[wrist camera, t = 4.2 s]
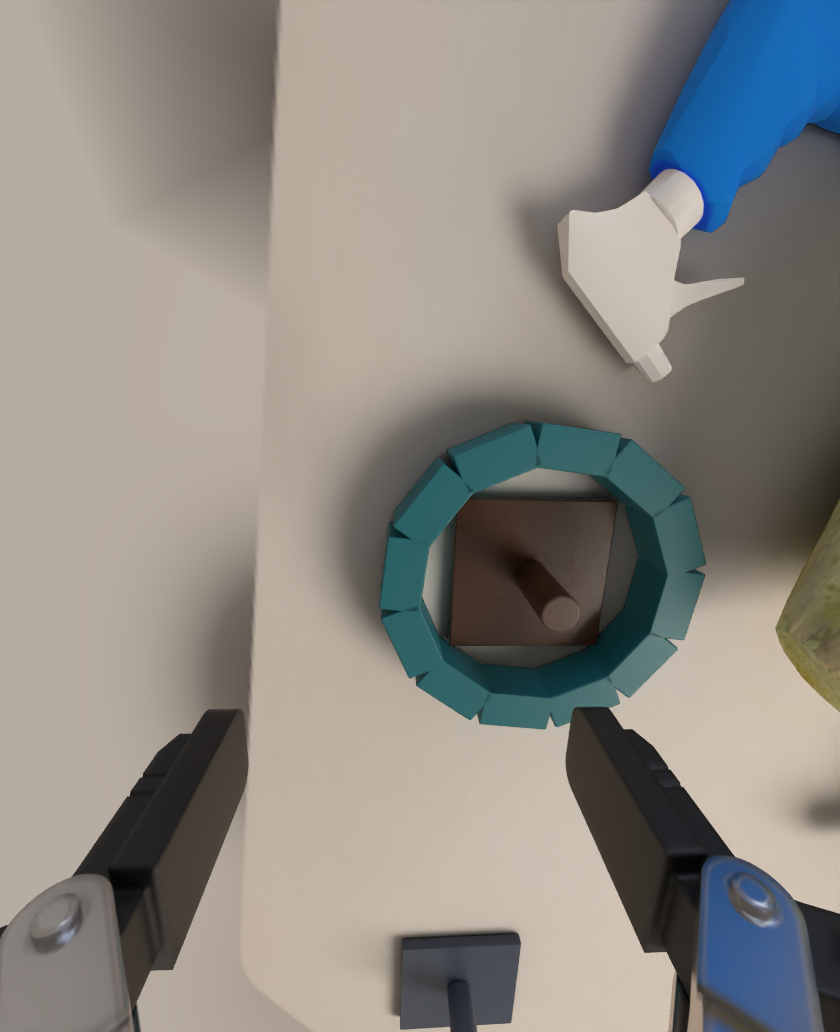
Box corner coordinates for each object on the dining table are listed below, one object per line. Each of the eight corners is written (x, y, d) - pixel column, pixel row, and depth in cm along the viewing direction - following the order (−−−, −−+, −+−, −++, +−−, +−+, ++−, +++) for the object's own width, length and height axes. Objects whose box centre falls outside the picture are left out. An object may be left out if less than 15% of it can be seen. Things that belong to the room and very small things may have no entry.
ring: (368, 683, 22) (365, 715, 20) (404, 402, 19) (405, 402, 17) (627, 705, 24) (652, 738, 21) (706, 447, 20) (746, 452, 18)
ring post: (448, 639, 22) (461, 697, 18) (455, 495, 20) (471, 521, 16) (591, 639, 22) (638, 695, 18) (611, 498, 21) (669, 523, 16)
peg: (400, 1017, 29) (400, 1125, 25) (402, 938, 27) (403, 1039, 23) (509, 1011, 30) (528, 1115, 25) (518, 933, 28) (541, 1031, 23)
